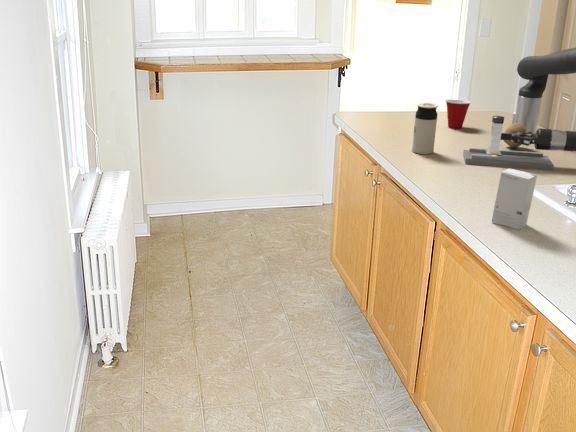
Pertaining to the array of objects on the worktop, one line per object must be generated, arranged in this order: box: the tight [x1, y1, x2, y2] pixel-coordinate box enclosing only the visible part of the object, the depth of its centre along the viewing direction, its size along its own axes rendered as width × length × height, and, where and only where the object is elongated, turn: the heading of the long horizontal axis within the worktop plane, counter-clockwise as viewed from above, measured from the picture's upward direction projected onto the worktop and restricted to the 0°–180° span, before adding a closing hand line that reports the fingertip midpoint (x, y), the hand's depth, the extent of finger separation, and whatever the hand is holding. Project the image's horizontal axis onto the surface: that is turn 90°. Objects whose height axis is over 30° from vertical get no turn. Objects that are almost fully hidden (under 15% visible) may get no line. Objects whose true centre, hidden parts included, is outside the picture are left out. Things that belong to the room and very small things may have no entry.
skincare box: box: [491, 167, 538, 230], centre depth 181 cm, size 8×6×15 cm
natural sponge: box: [503, 123, 527, 149], centre depth 258 cm, size 9×9×10 cm
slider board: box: [462, 147, 554, 171], centre depth 240 cm, size 30×12×3 cm, turn 80°
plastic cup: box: [444, 99, 472, 130], centre depth 288 cm, size 11×11×12 cm
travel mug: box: [411, 102, 439, 155], centre depth 248 cm, size 8×8×18 cm
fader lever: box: [484, 115, 505, 156], centre depth 238 cm, size 5×6×14 cm
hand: (500, 136), depth 238 cm, fingers closed
